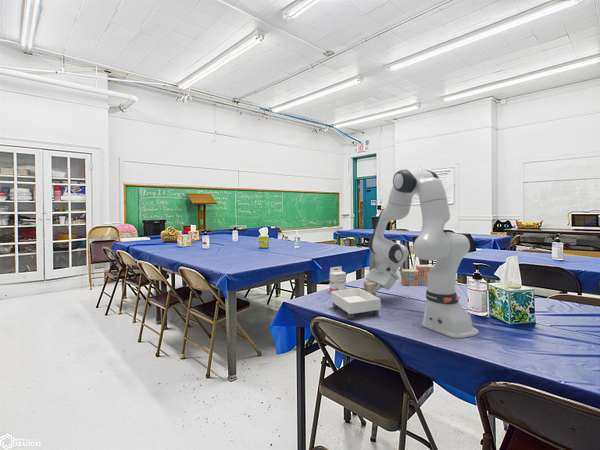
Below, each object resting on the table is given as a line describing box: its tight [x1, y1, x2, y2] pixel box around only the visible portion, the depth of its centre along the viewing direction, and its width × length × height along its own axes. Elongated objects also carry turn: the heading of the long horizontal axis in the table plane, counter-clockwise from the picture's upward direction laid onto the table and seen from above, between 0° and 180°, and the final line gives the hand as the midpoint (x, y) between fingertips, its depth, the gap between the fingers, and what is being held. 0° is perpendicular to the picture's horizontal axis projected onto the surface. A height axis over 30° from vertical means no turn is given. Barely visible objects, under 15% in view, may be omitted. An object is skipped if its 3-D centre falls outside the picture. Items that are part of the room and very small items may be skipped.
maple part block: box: [363, 281, 377, 297], centre depth 173 cm, size 4×4×10 cm
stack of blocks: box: [400, 264, 435, 287], centre depth 205 cm, size 21×6×12 cm, turn 85°
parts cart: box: [330, 287, 382, 320], centre depth 158 cm, size 20×16×8 cm
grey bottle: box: [368, 251, 385, 273], centre depth 205 cm, size 10×10×28 cm
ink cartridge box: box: [329, 265, 347, 293], centre depth 191 cm, size 9×5×15 cm, turn 115°
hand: (370, 290), depth 173 cm, fingers closed on maple part block, 4 cm apart
